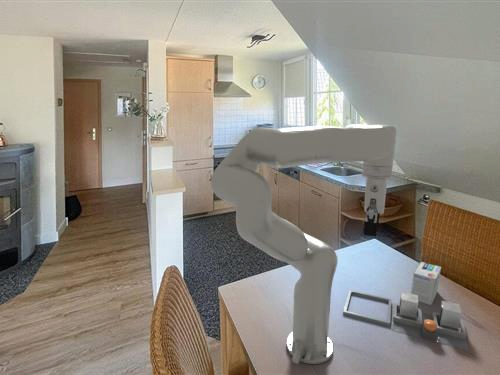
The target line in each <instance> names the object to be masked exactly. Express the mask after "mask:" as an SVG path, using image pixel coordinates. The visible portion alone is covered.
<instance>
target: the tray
mask: <svg viewBox="0 0 500 375" xmlns="http://www.w3.org/2000/svg"><path fill="white" fill-rule="evenodd" d="M352 295H354V296H359V297H362V298H367V299H371V300H376V301H380V302H384V303H388V307H387V319H386V320H384V319H379V318H376V317H372V316H368V315H364V314H362V313H361V314H360V313H356V312H352V311H348V309H349V308H348V307H349V303H350V301H351V298H352ZM392 300H393V299H392V298H388V297H383V296H381V295H375V294H371V293H366V292H362V291H357V290H352V289H349V290H348V294H347V297H346V300H345V304H344V307H343V311H342V315H344V316H349V317H351V318H355V319H360V320H362V321H367V322H370V323H371V322H372V323H375V324H378V325H382V326H386V327H391V319H392V318H391V316H392Z"/></svg>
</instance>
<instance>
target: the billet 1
mask: <svg viewBox="0 0 500 375" xmlns="http://www.w3.org/2000/svg"><path fill="white" fill-rule="evenodd" d="M399 304H400V305H399V317H402V318H406V319H410V320H414V321H416V316H417V309H419V308H418V307H419V301H418V295H414V294H411V293H408V292H404V291H401V295H400V299H399Z"/></svg>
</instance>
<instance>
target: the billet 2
mask: <svg viewBox="0 0 500 375" xmlns="http://www.w3.org/2000/svg"><path fill="white" fill-rule="evenodd" d="M460 306H461V305H460V303H454V302H450V301H445V300H441V303H440V308H439V312H438V313H439V319H438V324H439V327H443V328H447V329H451V330H455V331H458V330H459V325H460V320H461V319H462V315H463V314H462V310H461V307H460Z"/></svg>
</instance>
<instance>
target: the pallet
mask: <svg viewBox="0 0 500 375" xmlns="http://www.w3.org/2000/svg"><path fill="white" fill-rule="evenodd" d="M399 305H400V303H395V302H394V303H393V306H392V308H393V309H392V323H391V324H392V330H391V331H392V332H395V333H400V334H402V335H403V334H404V335H407V336H411V337H415V338H418V339H422V340H426V341H429V342H430V341H431V342H433V343H434V342H435V343H437V344H442V345H444V346H450V347H453V348H456V349H461V350H464V351H468V352H469V351H470V348H469V343H468V340H467V337H468V335H467V331H466V327H465V324H464V319H463V318H461V320H460V325H459V330H458V331H455V330H451V329H447V328H443V327H439V324H438V319H439V313H440V312H435V311H432V314H429V313H423V312H422V308H418V309H417V316H416V321H414V320H410V319H406V318H402V317H399ZM426 319H429V320H433V321H434V322H436V323H437V329H436V331H435V332H431V331H428V330H426V329H425V328H424V321H425V320H426Z"/></svg>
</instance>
